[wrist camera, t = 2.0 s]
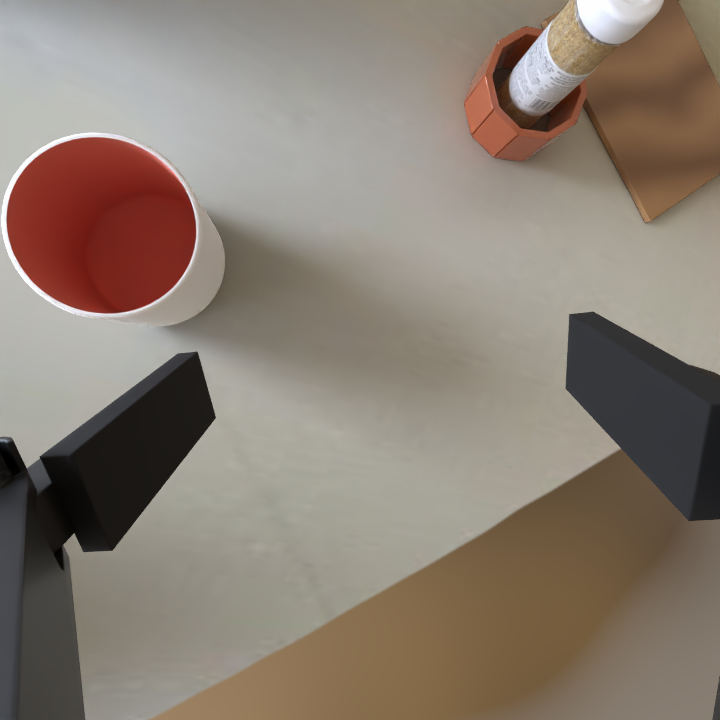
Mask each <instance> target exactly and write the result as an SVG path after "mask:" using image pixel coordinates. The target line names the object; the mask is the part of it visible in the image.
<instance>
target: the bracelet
mask: <svg viewBox="0 0 720 720" xmlns="http://www.w3.org/2000/svg"><path fill="white" fill-rule="evenodd" d="M543 31H544V30H543V29H538V28H533V27H528V26H526V27H522V28H520V29H519V30H517V31H515V32H513V33H512V34H510V35H508V36H507V37H505V38H503V39H501V40H500V41H498V42H497V44H496V45H495V46H494V48H493V49H492V51H491V52H490V54H489V55H488V56H487V58H486V59H485V61H484V62H483V64H482V65H481V67H480V68H479V70H478V71H477V73H476V74H475V76H474V78H473V81H472V83H471V86H470V89H469V91H468V94H467V96H466V99H465V102H464V103H465V104H464V107H465V111H466V115H467V119H468V124H469V128H470V132H471V135H472V134H473V135H472V137H473V138H474V139H475V140H476V141H477V142H478V143H479V144H480V145H481V146H482V147H484V148H485V149H486V150H487V151H488V152H489V153H490V154H491V155H492V156H493V157H494V156H495V158H500V159H508V160H515V161H525V160H526V159H528V158H529V157H531V156H533V155H534V154H536V153H537V152H539V151H541V150H542V149H544V148H545V147H547V146H548V145H549V144H551V143H552V142H553V141H554V140H556V139H557V138H558V137H560V136H561V135H562V134H563V133H565V132H566V131H567V130H569V129H570V128H571V127H572V126H574V125H575V123H576V122H577V120H578V117H579V115H580V112H581V109H582V106H583V104H584V101H585V98H586V96H587V86H586V81H585V79H584V80H583V81H582V82H581V83H580V84H579V85H578V86H577V87H576V88H575V89H573V90H572V91H571V92H570V93H569V94H568V95H567V96H566V97H565V98H564V99H562V100H561V101H560V102H559V103H558V104H557V105H556V106H555V107H554V108H552V109H551V110H550V116H551V119H550V121H549V124H548V127H547V129H546V132H543V131H536V130H530V129H523V128H520V127H519V126H518V125H517V124H516V123H515V122H514V121H513V120H512V119H511V118H510V117H509V116H508V115H507V114H506V113H505V112H504V111H503V110H502V109H501V108H500V107H499V104H498V99H497V95H496V91H495V86H494V82H493V78H492V75H493V72H494V71H496V70H497V69H499V68H501V67H503V68H509V69H514V68H515V66H516V65H517V64H518V62H519V61H520V60H521V59H522V57H523V56H524V55H525V54H526V52H527V51H528V50H529V49H530V48H531V46H532V45H533V44H534V42H535V41H536V40H537V39H538V37H539V36H540V35H541V34H542V32H543Z"/></svg>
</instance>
